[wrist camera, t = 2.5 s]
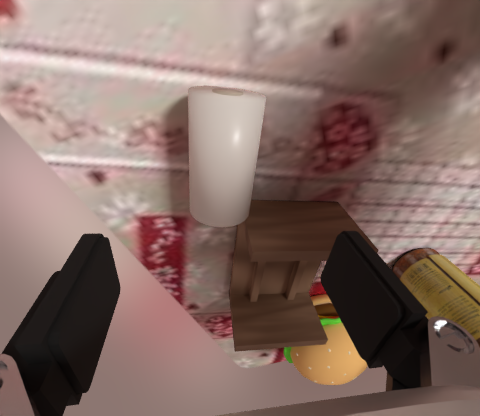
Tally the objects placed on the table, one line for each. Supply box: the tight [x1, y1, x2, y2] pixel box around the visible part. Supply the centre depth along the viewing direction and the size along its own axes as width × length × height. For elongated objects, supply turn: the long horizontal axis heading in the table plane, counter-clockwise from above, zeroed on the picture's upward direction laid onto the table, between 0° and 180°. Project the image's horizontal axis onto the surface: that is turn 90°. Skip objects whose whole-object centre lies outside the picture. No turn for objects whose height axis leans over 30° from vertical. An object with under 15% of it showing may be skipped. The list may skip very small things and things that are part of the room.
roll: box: [188, 86, 266, 227], centre depth 18 cm, size 9×5×5 cm, turn 174°
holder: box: [229, 200, 378, 351], centre depth 25 cm, size 14×10×7 cm
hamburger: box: [284, 294, 368, 385], centre depth 32 cm, size 12×12×9 cm
